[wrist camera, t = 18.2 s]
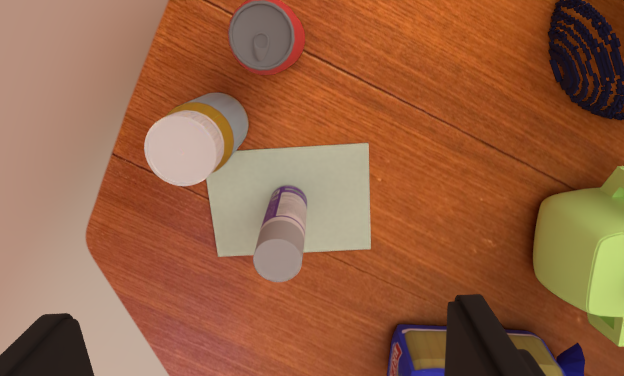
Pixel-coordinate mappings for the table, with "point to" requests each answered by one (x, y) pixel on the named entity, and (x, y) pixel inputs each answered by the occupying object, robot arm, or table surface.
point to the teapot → (585, 252)
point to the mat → (305, 175)
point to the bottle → (196, 138)
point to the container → (282, 235)
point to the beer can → (265, 36)
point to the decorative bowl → (601, 58)
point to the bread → (432, 345)
